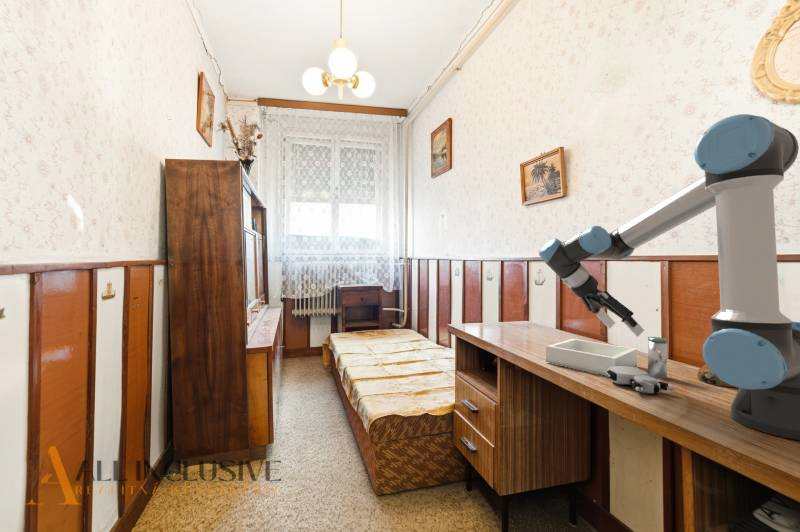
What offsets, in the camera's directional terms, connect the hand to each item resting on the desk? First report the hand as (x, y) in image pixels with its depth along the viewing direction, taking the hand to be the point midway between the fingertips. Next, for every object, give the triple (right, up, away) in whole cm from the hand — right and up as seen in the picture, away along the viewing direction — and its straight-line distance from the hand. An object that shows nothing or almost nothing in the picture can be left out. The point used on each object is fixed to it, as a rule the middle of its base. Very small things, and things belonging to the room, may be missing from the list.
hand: (625, 329), depth 114 cm
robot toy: (-4, -15, -11) cm, 19 cm away
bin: (-4, -15, +13) cm, 20 cm away
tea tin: (+10, -15, 0) cm, 18 cm away
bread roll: (+25, -16, -5) cm, 30 cm away
